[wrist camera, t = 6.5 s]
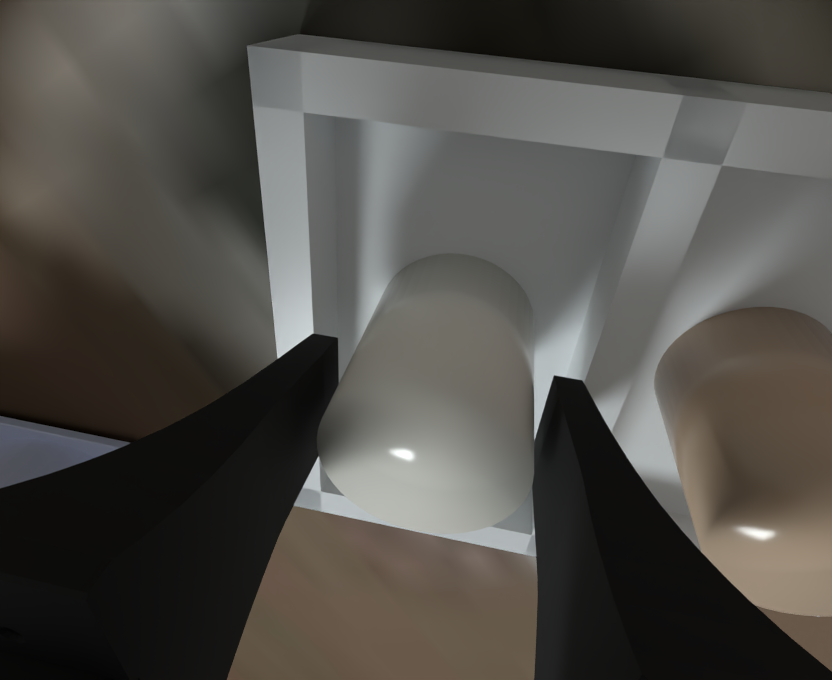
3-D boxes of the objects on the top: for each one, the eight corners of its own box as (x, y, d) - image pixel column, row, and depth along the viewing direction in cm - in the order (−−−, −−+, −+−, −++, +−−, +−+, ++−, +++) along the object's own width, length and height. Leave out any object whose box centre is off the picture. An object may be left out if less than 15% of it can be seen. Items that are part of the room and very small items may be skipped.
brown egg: (632, 421, 15) (670, 588, 11) (689, 293, 12) (765, 447, 8) (789, 449, 14) (890, 634, 10) (880, 322, 12) (1059, 500, 8)
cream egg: (379, 374, 15) (323, 512, 11) (379, 244, 13) (308, 361, 9) (521, 395, 15) (515, 549, 11) (548, 263, 13) (554, 398, 8)
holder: (318, 448, 19) (291, 505, 17) (298, 34, 11) (246, 45, 9) (784, 541, 17) (819, 616, 15) (1130, 126, 10) (1292, 164, 8)
